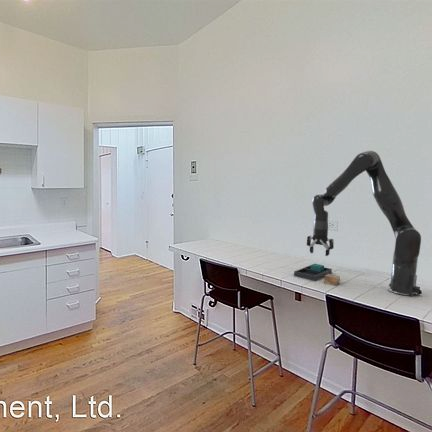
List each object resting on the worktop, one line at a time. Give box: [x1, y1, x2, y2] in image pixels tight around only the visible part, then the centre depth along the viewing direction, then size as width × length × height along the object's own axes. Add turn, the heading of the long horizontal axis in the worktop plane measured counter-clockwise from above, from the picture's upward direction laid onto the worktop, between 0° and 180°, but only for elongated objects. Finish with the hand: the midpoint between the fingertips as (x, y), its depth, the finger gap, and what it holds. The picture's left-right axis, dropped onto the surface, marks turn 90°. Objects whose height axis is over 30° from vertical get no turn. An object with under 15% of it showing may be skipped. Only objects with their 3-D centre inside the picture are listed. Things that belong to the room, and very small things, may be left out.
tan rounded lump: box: [323, 273, 341, 286], centre depth 165 cm, size 6×6×4 cm
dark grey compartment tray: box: [293, 264, 333, 282], centre depth 179 cm, size 12×22×3 cm, turn 127°
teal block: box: [309, 263, 325, 272], centre depth 183 cm, size 6×6×4 cm
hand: (319, 254), depth 181 cm, fingers open, 8 cm apart
